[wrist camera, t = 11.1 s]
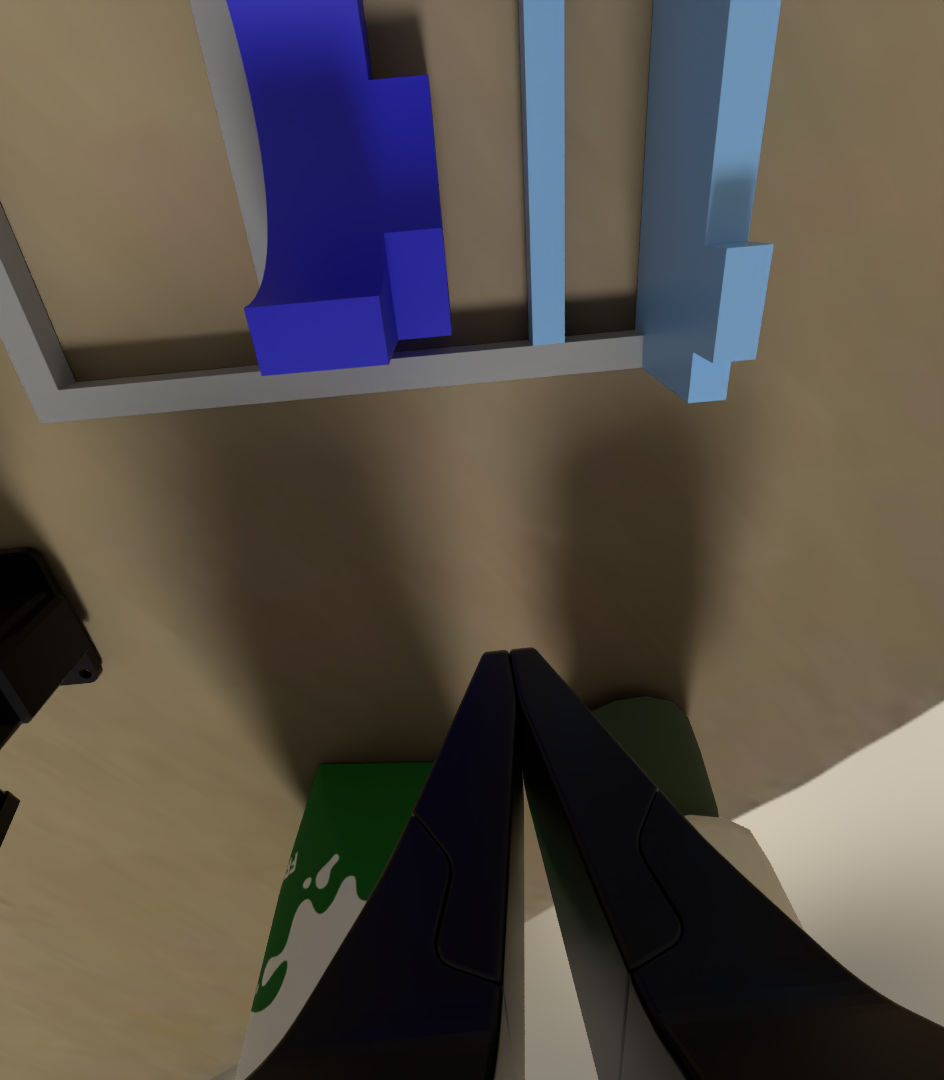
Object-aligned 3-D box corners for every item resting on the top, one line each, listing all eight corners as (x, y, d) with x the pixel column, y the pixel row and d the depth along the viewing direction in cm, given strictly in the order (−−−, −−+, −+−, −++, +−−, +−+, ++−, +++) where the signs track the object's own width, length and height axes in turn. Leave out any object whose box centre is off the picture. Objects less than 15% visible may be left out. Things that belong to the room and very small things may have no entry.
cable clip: (451, 317, 19) (452, 358, 13) (312, 330, 19) (261, 376, 14) (397, -254, 13) (365, -576, 8) (196, -235, 13) (23, -542, 8)
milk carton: (474, 854, 33) (511, 1576, 15) (313, 858, 32) (164, 1608, 15) (480, 747, 28) (540, 1584, 11) (294, 750, 28) (52, 1628, 11)
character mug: (494, 713, 27) (531, 1065, 16) (615, 629, 25) (757, 968, 14) (627, 814, 32) (730, 1148, 20) (741, 749, 29) (927, 1083, 18)
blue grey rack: (58, 414, 20) (-88, 491, 14) (-289, -361, 12) (-924, -858, 6) (662, 358, 19) (746, 413, 14) (728, -459, 12) (978, -1044, 6)
